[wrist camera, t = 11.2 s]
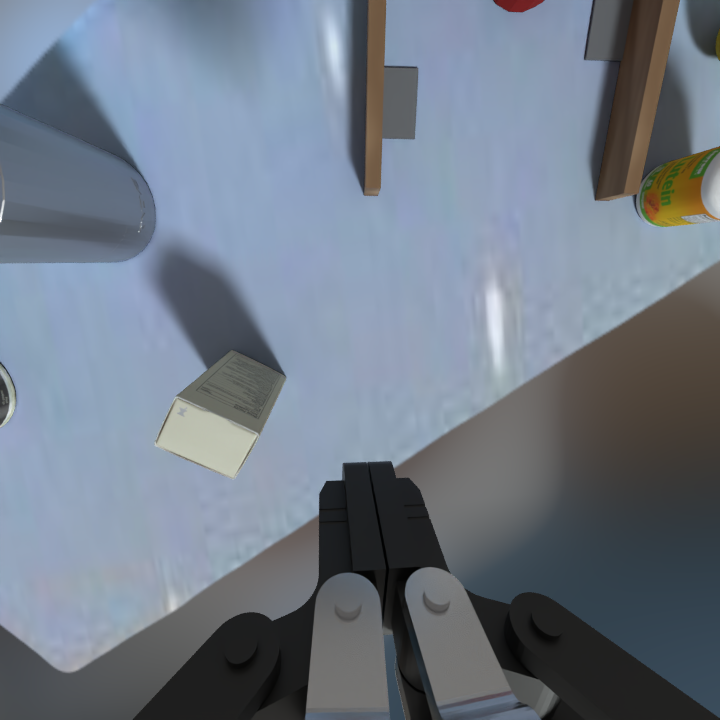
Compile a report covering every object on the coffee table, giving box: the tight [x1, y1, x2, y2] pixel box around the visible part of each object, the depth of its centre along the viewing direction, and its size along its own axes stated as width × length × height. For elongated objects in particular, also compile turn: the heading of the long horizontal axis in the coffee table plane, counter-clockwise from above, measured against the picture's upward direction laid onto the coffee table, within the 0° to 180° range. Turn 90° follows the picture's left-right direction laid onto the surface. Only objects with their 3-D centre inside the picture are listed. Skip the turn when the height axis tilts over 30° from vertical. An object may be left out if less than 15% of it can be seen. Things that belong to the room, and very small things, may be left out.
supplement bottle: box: [636, 146, 720, 227], centre depth 27 cm, size 5×5×10 cm
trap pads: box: [382, 0, 633, 139], centre depth 29 cm, size 22×6×1 cm, turn 109°
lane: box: [364, 0, 680, 201], centre depth 26 cm, size 22×24×5 cm
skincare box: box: [154, 350, 286, 479], centre depth 30 cm, size 6×4×12 cm
